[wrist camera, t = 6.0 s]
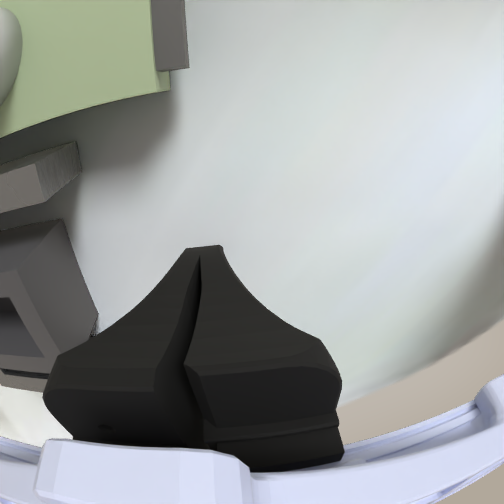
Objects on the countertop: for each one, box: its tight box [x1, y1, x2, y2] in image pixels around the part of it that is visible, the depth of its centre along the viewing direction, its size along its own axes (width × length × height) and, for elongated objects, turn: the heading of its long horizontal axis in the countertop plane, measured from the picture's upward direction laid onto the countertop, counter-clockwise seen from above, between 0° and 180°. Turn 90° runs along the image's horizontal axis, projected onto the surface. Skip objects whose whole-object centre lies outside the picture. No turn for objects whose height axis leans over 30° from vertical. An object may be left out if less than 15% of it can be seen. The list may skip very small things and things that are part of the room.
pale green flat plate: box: [0, 0, 189, 138], centre depth 5 cm, size 12×6×4 cm, turn 94°
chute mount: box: [0, 141, 93, 392], centre depth 11 cm, size 9×11×3 cm
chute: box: [0, 218, 98, 373], centre depth 10 cm, size 6×5×4 cm
